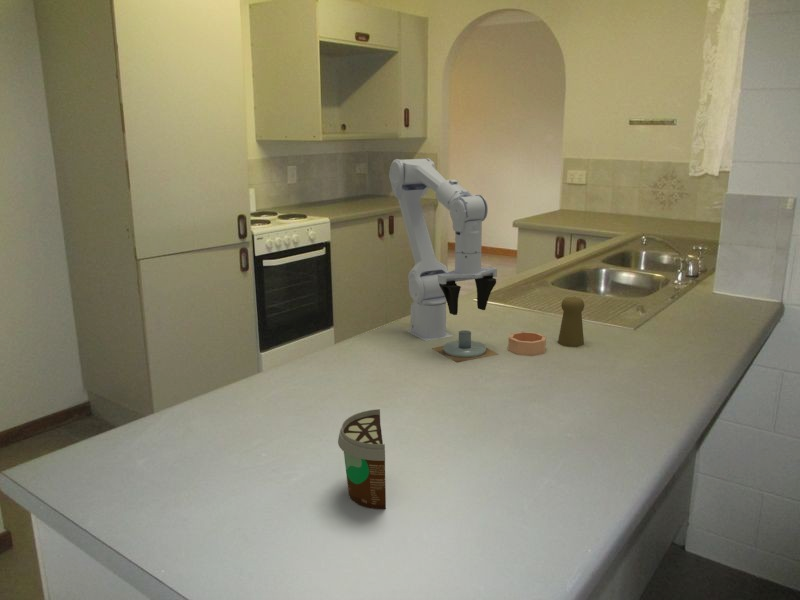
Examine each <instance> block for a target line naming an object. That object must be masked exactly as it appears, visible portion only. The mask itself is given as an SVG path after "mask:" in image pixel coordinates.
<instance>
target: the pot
mask: <svg viewBox="0 0 800 600" xmlns="http://www.w3.org/2000/svg"><path fill="white" fill-rule="evenodd" d="M507 348H508V349H507V350H508V352H511V353H514V354H515V355H520V356H531V357H532V356H533V357H534V356H537V355H543V354H545V351H546V349H547V336H546V335H544V334H541V333H539V332H537V331H535V332H534V331H518V332H513V333H510V334H509V336H508V347H507Z"/></svg>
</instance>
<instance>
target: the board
mask: <svg viewBox="0 0 800 600" xmlns="http://www.w3.org/2000/svg"><path fill="white" fill-rule="evenodd" d="M431 349H432V350H433V351H435V352H437V353H438V354H441V355H443V356H444V357H445V358H448V359H450V360H451V361H454V362H455V363H462V362H466V361H471V360H472V361H473V360H476V359H483V358H487V357H491V356H492V357H493V356H498V355H499V353H498V352H496V351H494V350H492V349H490V348H487V347H486V353H485V354H484V355H482V356H479V357H474V358H457V357H452V356H449V355H447V354H445V353H444V345H441V346H437V347H431Z"/></svg>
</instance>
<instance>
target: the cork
mask: <svg viewBox="0 0 800 600" xmlns="http://www.w3.org/2000/svg"><path fill="white" fill-rule="evenodd" d="M560 307H561V309H562V312H563V313H562V318H561V322H560V323H561V324H560V329H559V334H558V339H557V343H558V344H559V345H561V346H564V347H568V348H569V347H570V348H578V347H579V348H580V347H581V346H584V345H585V339H584V338H585V336H584V327H583V315H582V313H583V310H584V309H585V302H584V299H582V298H580V297H576V296H568V297H567V296H566V297H564V298H563V299H562V301H561V305H560Z"/></svg>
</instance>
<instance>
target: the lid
mask: <svg viewBox="0 0 800 600" xmlns="http://www.w3.org/2000/svg"><path fill="white" fill-rule="evenodd" d="M443 346H444V353H445V354H447V355H449V356H452V357H457V358H474V357H479V356H482V355H484V354H485V353H486V348H487V345H485V344H484V343H482V342H479V341H476V340H475V341H474V340H472V331H470V330H459V331H458V340H452V341H450V342H446V343H445V344H444V345H443Z"/></svg>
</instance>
